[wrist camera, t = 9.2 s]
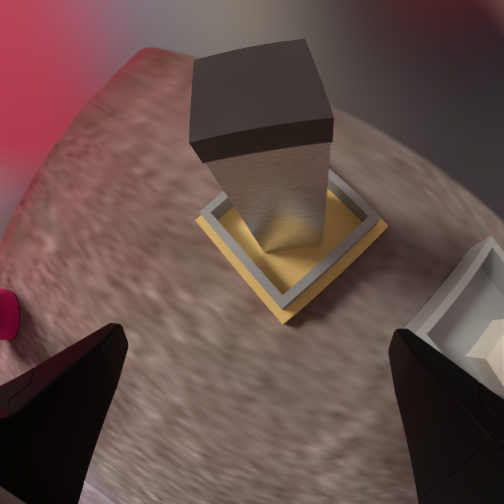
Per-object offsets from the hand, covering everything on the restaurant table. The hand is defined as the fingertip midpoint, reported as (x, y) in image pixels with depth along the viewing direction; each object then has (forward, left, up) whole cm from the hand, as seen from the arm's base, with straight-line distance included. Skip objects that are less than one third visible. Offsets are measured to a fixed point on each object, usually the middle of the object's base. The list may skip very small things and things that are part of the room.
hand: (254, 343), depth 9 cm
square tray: (+6, -5, -11) cm, 14 cm away
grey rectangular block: (+6, -5, -10) cm, 13 cm away
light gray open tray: (-11, -10, -11) cm, 19 cm away
